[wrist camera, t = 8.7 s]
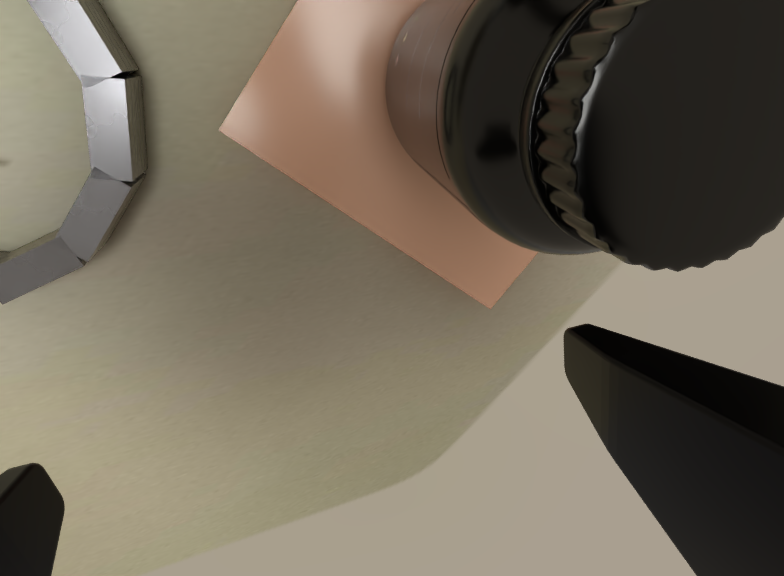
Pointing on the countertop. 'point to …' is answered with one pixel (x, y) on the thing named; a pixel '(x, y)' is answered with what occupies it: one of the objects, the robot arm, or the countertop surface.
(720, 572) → the robot arm
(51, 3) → the collar
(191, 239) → the countertop surface
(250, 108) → the tile
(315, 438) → the countertop surface
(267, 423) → the countertop surface
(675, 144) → the supplement bottle
